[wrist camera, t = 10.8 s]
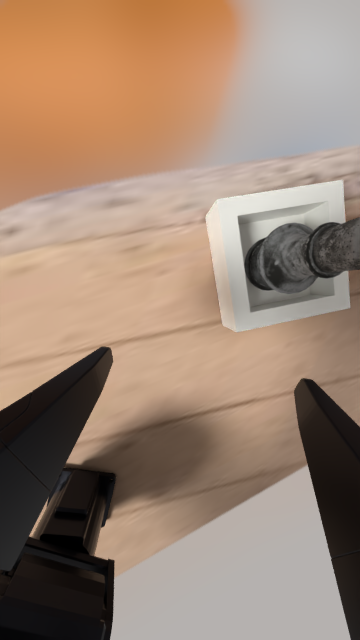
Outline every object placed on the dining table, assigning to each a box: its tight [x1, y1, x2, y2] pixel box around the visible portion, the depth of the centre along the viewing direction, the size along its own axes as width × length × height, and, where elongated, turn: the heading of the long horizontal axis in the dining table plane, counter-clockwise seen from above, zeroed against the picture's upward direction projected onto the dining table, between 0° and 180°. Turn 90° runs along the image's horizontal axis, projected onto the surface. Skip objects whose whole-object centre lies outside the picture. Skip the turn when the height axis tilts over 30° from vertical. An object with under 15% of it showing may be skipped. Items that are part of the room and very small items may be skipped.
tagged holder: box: [206, 180, 350, 332], centre depth 20 cm, size 11×12×4 cm
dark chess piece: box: [245, 217, 360, 294], centre depth 15 cm, size 6×6×12 cm
